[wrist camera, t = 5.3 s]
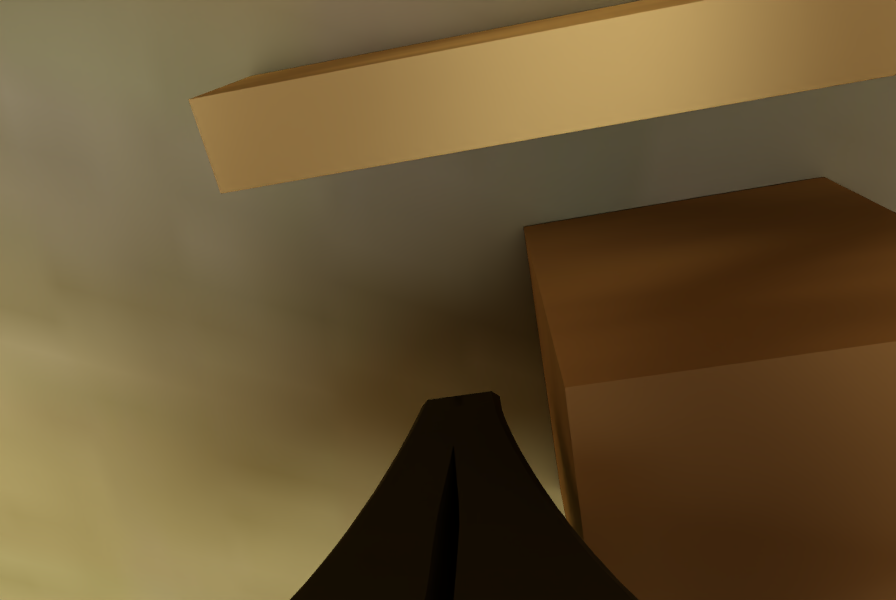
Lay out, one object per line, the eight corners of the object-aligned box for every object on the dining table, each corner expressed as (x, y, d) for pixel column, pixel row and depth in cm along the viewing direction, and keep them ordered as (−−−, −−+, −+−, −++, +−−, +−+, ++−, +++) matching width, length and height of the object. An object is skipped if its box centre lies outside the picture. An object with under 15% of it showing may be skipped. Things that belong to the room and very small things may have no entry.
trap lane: (1604, -187, 8) (2223, -287, 5) (1157, 727, 16) (1304, 882, 14) (250, 76, 10) (164, 108, 7) (460, 780, 18) (459, 927, 15)
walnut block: (824, 177, 10) (1095, 313, 6) (803, 460, 13) (983, 705, 9) (522, 227, 11) (564, 387, 6) (560, 490, 14) (609, 738, 9)
